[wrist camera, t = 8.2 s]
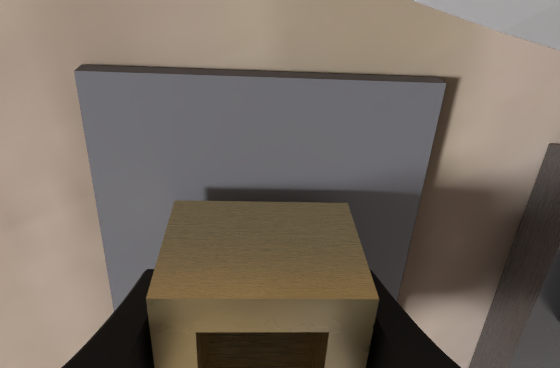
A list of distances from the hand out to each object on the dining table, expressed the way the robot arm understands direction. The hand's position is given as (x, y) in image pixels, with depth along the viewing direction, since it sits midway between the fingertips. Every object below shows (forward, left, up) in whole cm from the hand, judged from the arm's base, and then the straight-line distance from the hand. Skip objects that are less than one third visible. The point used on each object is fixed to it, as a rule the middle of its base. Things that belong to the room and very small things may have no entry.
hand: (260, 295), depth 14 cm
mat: (0, 0, -2) cm, 2 cm away
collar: (0, 0, -1) cm, 1 cm away
